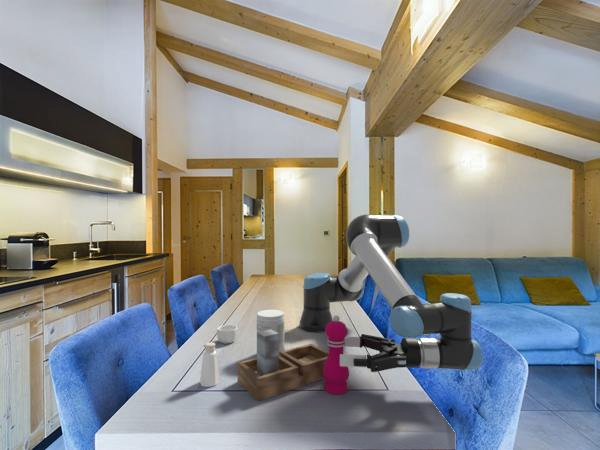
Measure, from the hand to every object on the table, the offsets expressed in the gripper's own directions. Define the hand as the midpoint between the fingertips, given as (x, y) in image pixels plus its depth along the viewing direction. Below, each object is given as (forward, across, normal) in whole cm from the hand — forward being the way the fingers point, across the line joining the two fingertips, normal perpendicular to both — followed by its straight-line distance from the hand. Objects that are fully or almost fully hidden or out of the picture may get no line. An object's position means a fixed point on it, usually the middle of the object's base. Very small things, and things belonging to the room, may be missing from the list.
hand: (338, 349), depth 88 cm
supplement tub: (+22, +22, -11) cm, 33 cm away
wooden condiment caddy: (+13, +7, -11) cm, 18 cm away
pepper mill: (+1, 0, -11) cm, 11 cm away
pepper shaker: (+36, +1, -11) cm, 38 cm away
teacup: (+41, +35, -11) cm, 55 cm away
